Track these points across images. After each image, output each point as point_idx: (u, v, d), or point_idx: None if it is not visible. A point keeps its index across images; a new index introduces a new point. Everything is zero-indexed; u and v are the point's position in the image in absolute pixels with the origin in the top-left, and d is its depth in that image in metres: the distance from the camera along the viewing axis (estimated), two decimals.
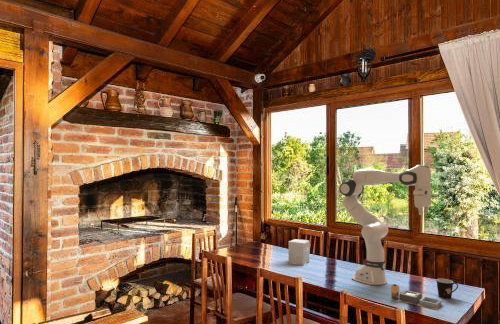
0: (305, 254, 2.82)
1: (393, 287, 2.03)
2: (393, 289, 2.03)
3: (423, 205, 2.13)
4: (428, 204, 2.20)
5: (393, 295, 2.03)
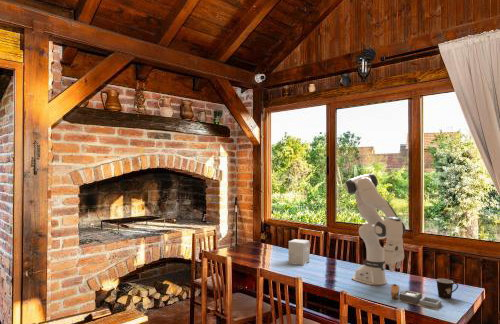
0: (305, 254, 2.82)
1: (393, 287, 2.03)
2: (393, 289, 2.03)
3: (394, 261, 2.00)
4: (400, 259, 2.07)
5: (393, 295, 2.03)
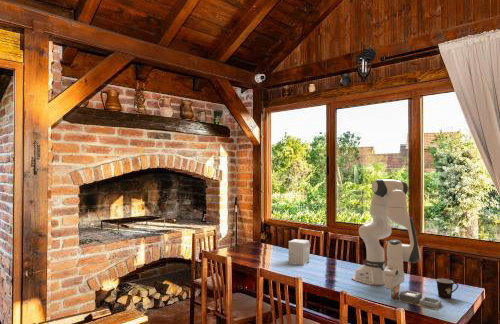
0: (305, 254, 2.82)
1: None
2: None
3: (394, 285, 1.99)
4: (400, 282, 2.06)
5: (393, 295, 2.03)
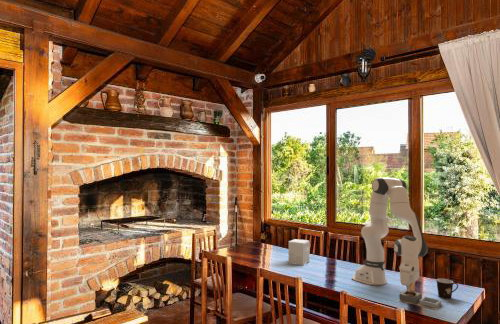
0: (305, 254, 2.82)
1: None
2: None
3: (410, 282, 1.96)
4: (416, 278, 2.03)
5: (409, 292, 2.00)
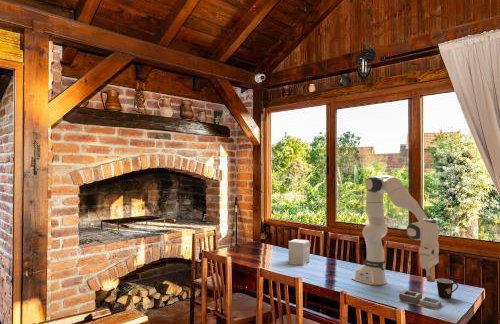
0: (305, 254, 2.82)
1: None
2: None
3: (430, 266, 1.90)
4: (435, 262, 1.96)
5: (429, 276, 1.93)
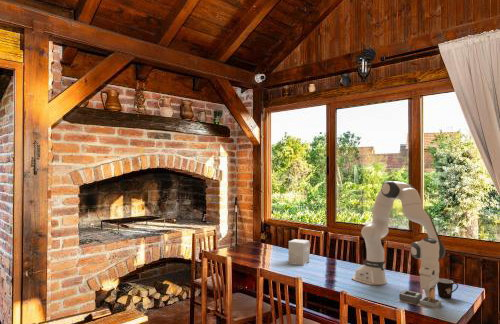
0: (305, 254, 2.82)
1: (429, 290, 1.93)
2: None
3: (430, 286, 1.89)
4: (436, 282, 1.96)
5: (429, 299, 1.93)
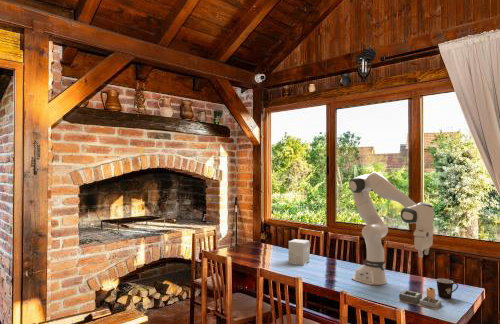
0: (305, 254, 2.82)
1: (429, 290, 1.93)
2: (429, 293, 1.93)
3: (424, 247, 1.98)
4: (429, 245, 2.04)
5: (429, 299, 1.93)
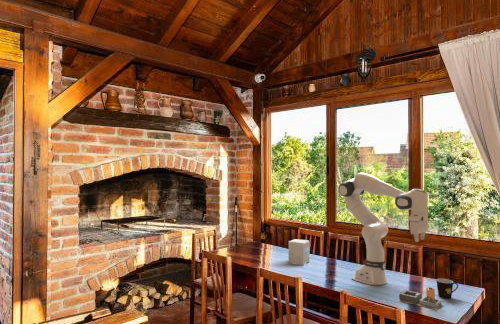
0: (305, 254, 2.82)
1: (429, 290, 1.93)
2: (429, 293, 1.93)
3: (419, 232, 2.03)
4: (425, 230, 2.10)
5: (429, 299, 1.93)
